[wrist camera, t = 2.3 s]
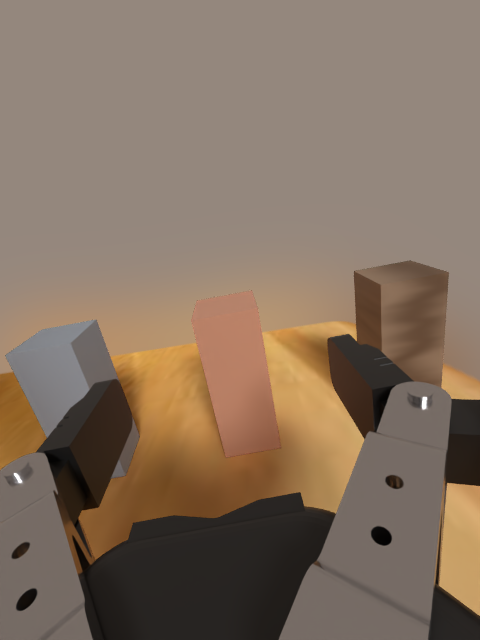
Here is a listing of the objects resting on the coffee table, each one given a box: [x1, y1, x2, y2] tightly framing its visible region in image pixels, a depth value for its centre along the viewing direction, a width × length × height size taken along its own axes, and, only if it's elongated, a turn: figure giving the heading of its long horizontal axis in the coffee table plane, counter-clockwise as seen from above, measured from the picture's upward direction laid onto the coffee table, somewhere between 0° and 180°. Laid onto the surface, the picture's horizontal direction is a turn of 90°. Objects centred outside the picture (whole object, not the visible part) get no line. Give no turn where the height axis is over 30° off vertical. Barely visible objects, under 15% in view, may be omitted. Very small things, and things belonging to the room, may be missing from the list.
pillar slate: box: [5, 320, 140, 478], centre depth 25 cm, size 4×4×12 cm
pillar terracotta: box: [191, 290, 281, 458], centre depth 25 cm, size 4×4×12 cm
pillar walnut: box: [354, 261, 449, 388], centre depth 24 cm, size 4×4×12 cm
